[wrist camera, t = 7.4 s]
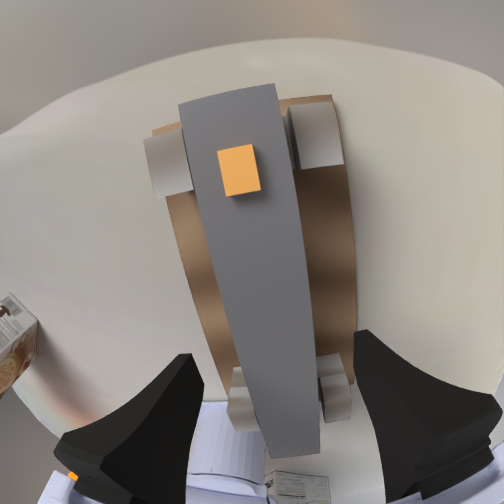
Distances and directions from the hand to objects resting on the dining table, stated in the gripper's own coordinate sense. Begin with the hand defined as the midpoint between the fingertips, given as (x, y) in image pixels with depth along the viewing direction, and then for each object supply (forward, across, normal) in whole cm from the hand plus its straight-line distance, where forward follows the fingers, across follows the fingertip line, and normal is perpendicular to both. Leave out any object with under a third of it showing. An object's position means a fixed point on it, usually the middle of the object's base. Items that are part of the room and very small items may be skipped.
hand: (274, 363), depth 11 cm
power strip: (+6, 0, 0) cm, 6 cm away
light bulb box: (+10, +2, +38) cm, 39 cm away
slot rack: (+9, 0, 0) cm, 9 cm away
